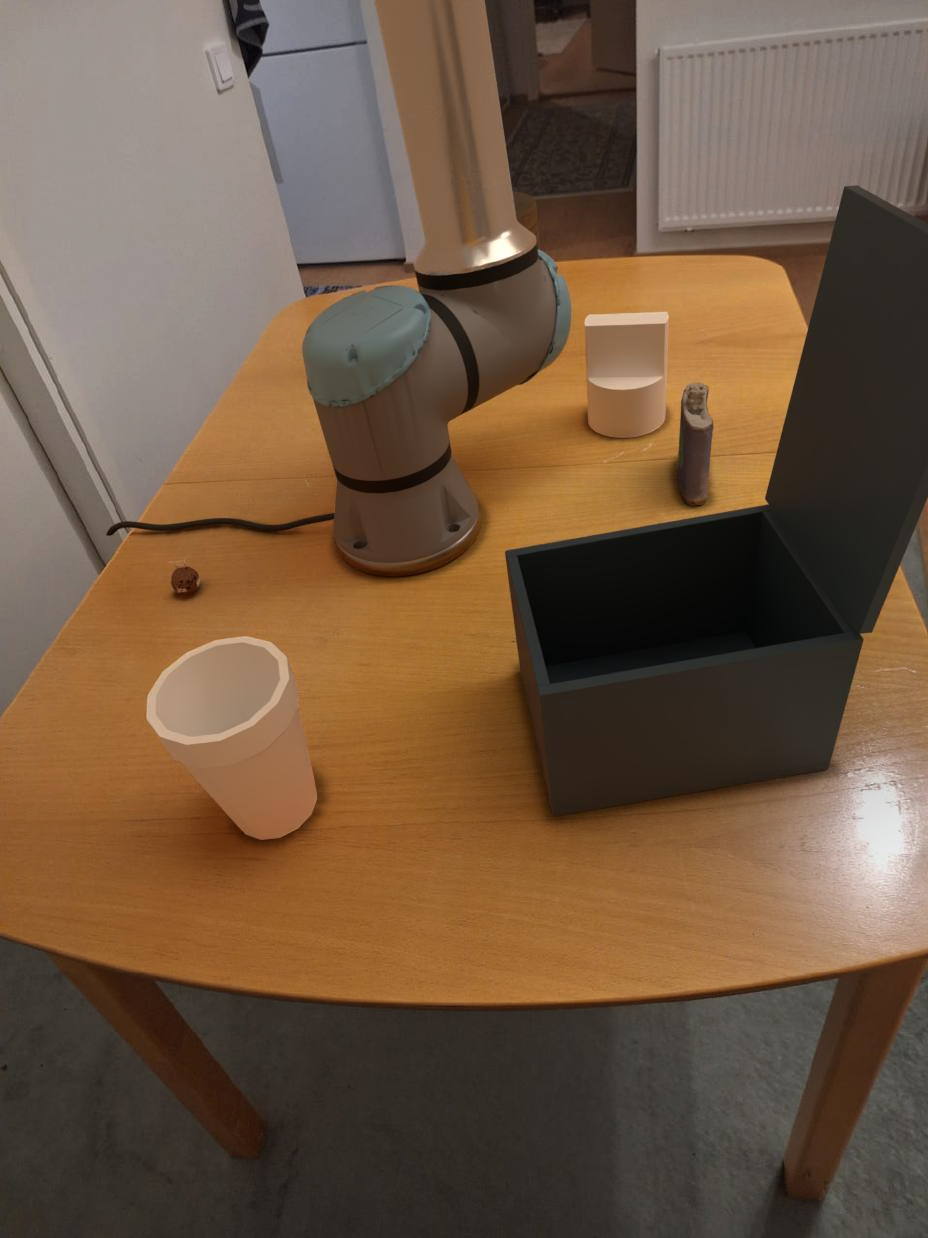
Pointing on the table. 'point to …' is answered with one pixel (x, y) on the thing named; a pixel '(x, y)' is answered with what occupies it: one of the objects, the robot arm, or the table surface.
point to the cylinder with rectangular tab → (626, 372)
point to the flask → (694, 444)
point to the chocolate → (184, 579)
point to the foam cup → (238, 732)
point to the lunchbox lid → (860, 408)
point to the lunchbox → (678, 658)
